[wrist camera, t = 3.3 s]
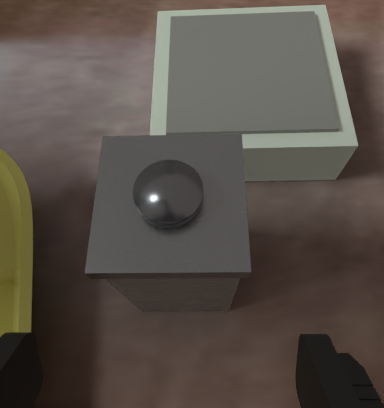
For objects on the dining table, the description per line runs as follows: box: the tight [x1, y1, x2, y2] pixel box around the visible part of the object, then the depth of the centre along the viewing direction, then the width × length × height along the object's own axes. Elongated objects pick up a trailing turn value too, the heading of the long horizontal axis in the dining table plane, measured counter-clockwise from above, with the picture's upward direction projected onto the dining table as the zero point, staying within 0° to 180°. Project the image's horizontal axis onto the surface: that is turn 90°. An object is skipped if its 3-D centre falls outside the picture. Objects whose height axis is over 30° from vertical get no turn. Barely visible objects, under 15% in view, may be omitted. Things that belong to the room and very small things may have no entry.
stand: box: [150, 5, 358, 182], centre depth 24 cm, size 12×12×4 cm
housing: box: [85, 133, 251, 312], centre depth 17 cm, size 5×5×11 cm
